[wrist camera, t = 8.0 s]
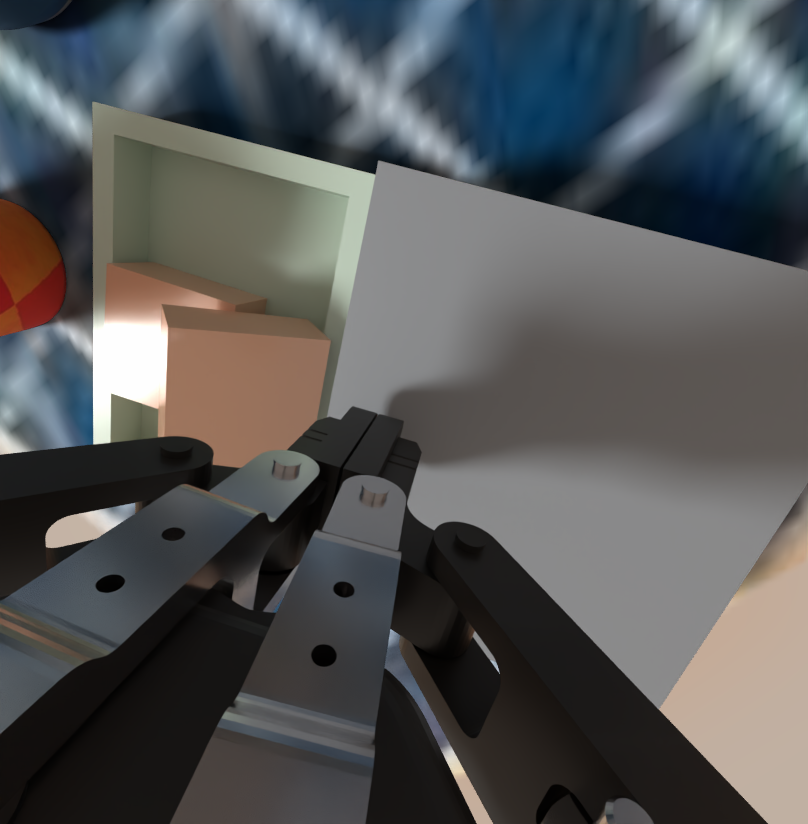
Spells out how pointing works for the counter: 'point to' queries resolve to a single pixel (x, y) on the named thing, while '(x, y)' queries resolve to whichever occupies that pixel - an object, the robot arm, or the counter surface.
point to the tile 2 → (239, 380)
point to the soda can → (28, 12)
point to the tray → (221, 232)
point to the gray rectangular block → (585, 401)
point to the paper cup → (27, 271)
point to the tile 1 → (153, 321)
